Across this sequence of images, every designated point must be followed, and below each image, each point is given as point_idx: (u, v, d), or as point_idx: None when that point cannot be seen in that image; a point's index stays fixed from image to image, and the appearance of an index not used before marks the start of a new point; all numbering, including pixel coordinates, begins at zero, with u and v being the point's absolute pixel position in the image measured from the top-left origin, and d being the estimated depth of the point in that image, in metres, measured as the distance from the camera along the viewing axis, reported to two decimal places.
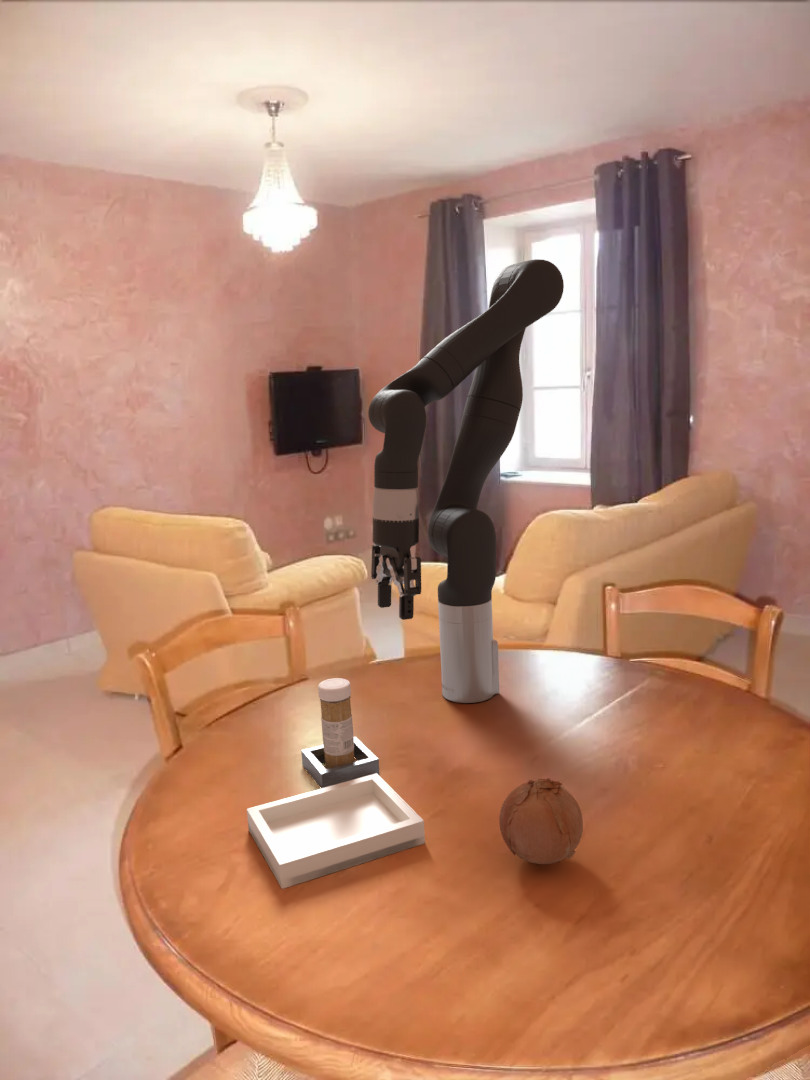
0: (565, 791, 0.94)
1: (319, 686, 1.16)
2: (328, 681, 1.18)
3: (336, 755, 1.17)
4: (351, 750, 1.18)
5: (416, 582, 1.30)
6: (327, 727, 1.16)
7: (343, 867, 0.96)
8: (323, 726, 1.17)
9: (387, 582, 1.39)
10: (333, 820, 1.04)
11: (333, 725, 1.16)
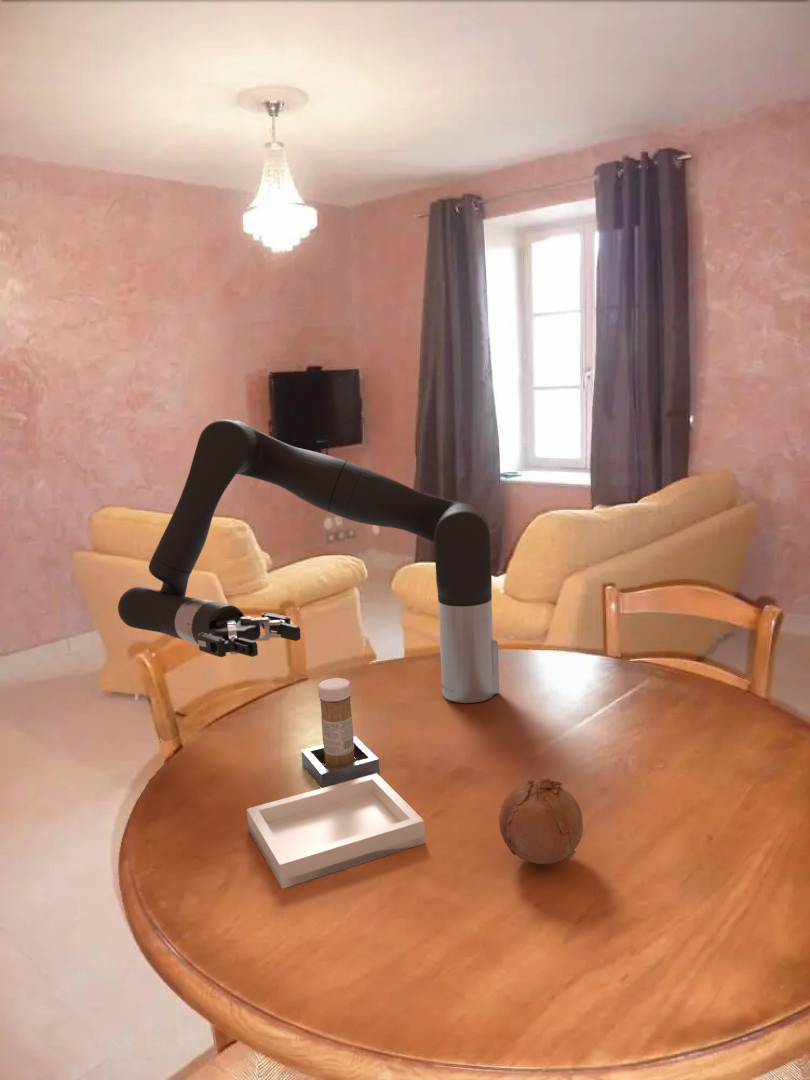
0: (565, 791, 0.94)
1: (319, 686, 1.16)
2: (328, 681, 1.18)
3: (336, 755, 1.17)
4: (351, 750, 1.18)
5: None
6: (327, 727, 1.16)
7: (343, 867, 0.96)
8: (323, 726, 1.17)
9: (278, 626, 1.29)
10: (333, 820, 1.04)
11: (333, 725, 1.16)
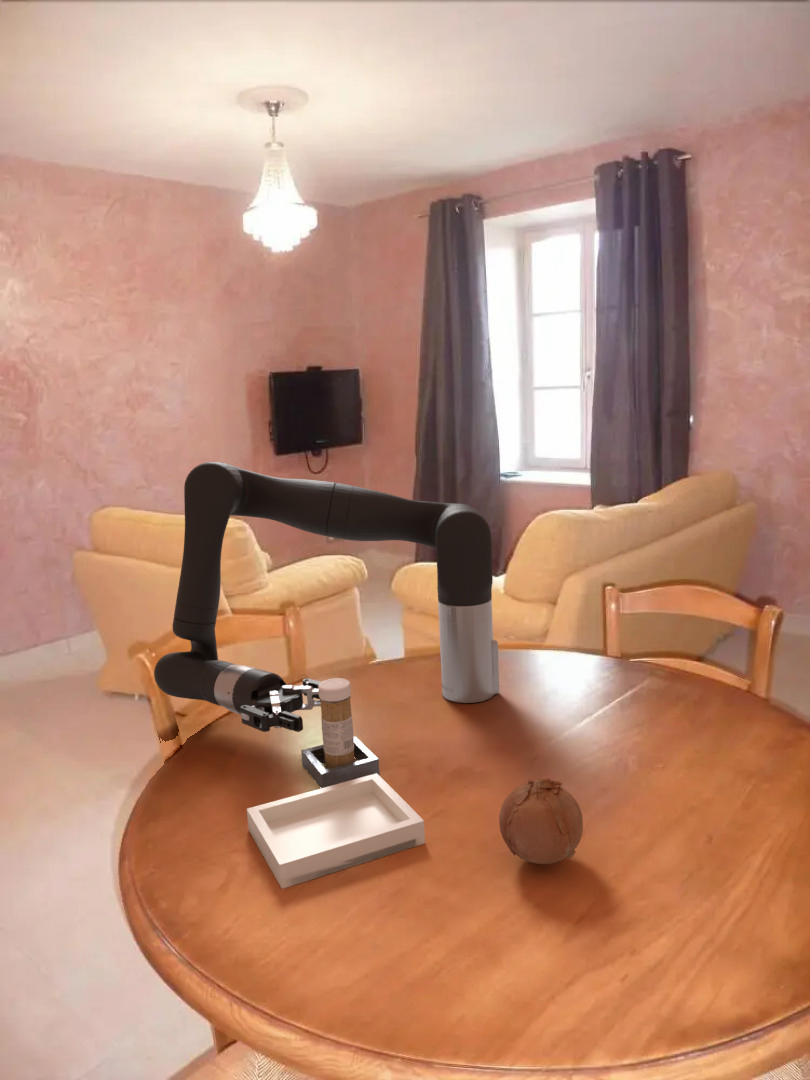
0: (565, 791, 0.94)
1: (319, 686, 1.16)
2: (328, 681, 1.18)
3: (336, 755, 1.17)
4: (351, 750, 1.18)
5: None
6: (327, 727, 1.16)
7: (343, 867, 0.96)
8: (323, 726, 1.17)
9: None
10: (333, 820, 1.04)
11: (333, 725, 1.16)
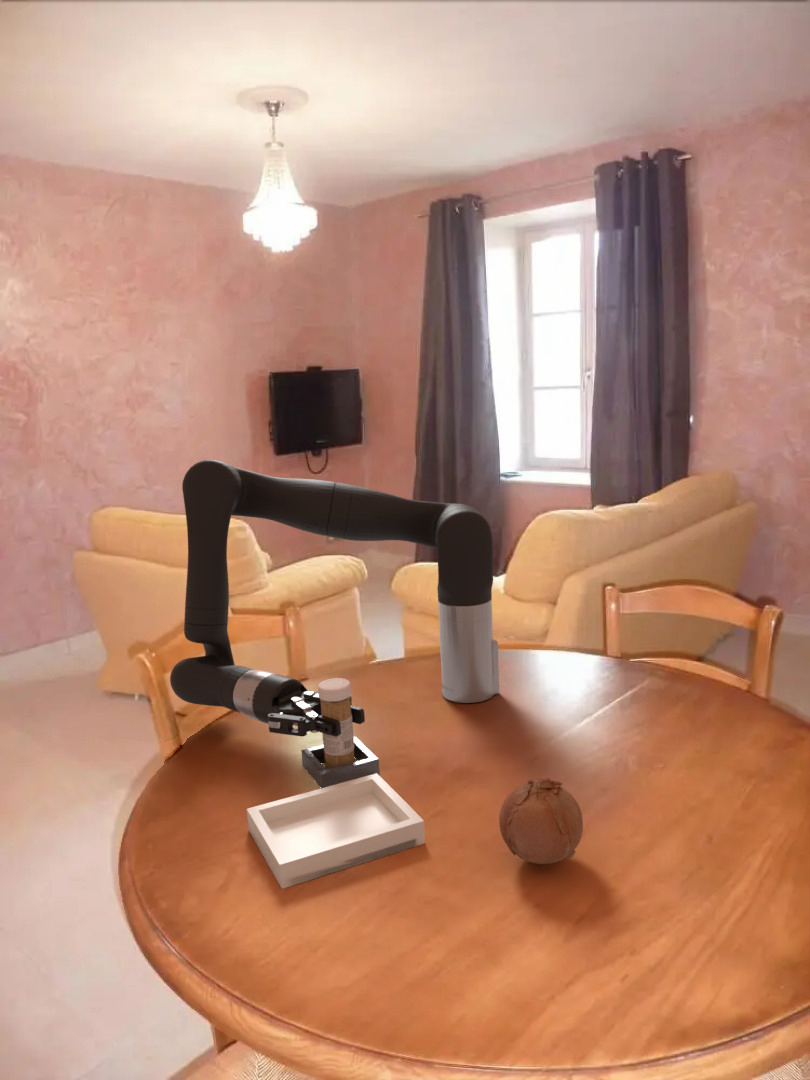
0: (565, 791, 0.94)
1: (319, 686, 1.16)
2: (328, 681, 1.18)
3: (336, 755, 1.17)
4: (351, 750, 1.18)
5: None
6: None
7: (343, 867, 0.96)
8: None
9: None
10: (333, 820, 1.04)
11: None
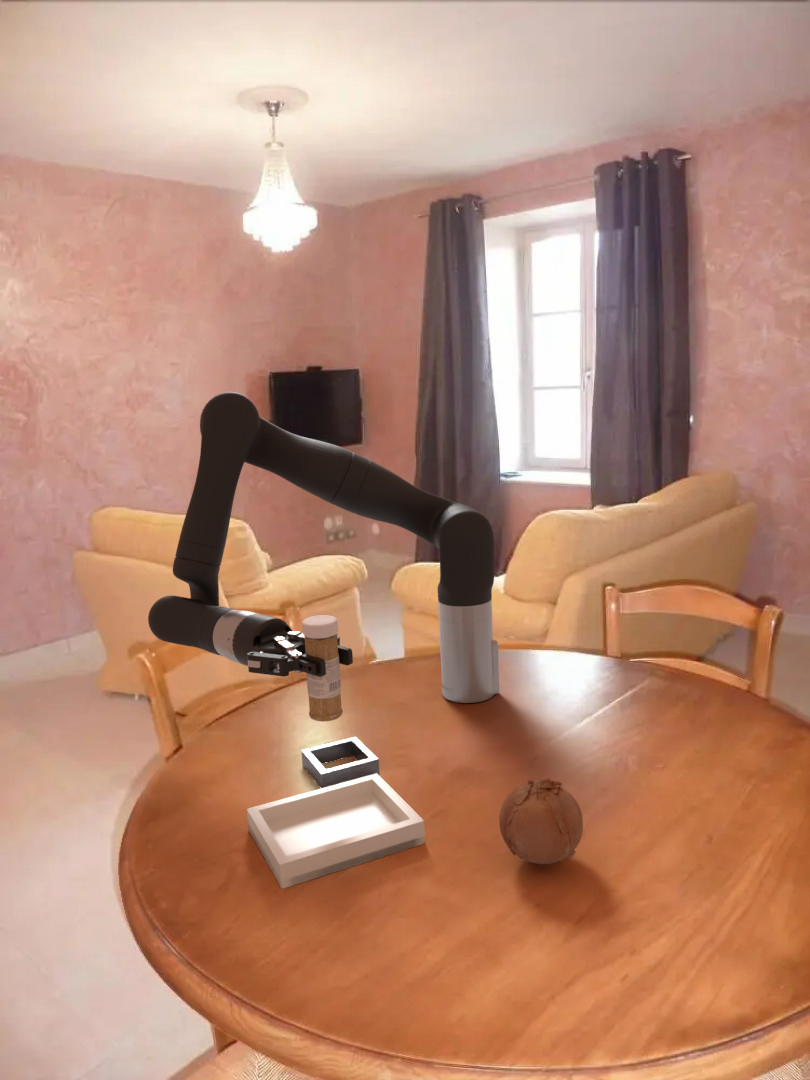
0: (565, 791, 0.94)
1: (303, 622, 1.07)
2: (313, 617, 1.08)
3: (320, 698, 1.07)
4: (337, 693, 1.08)
5: None
6: None
7: (343, 867, 0.96)
8: None
9: None
10: (333, 820, 1.04)
11: None
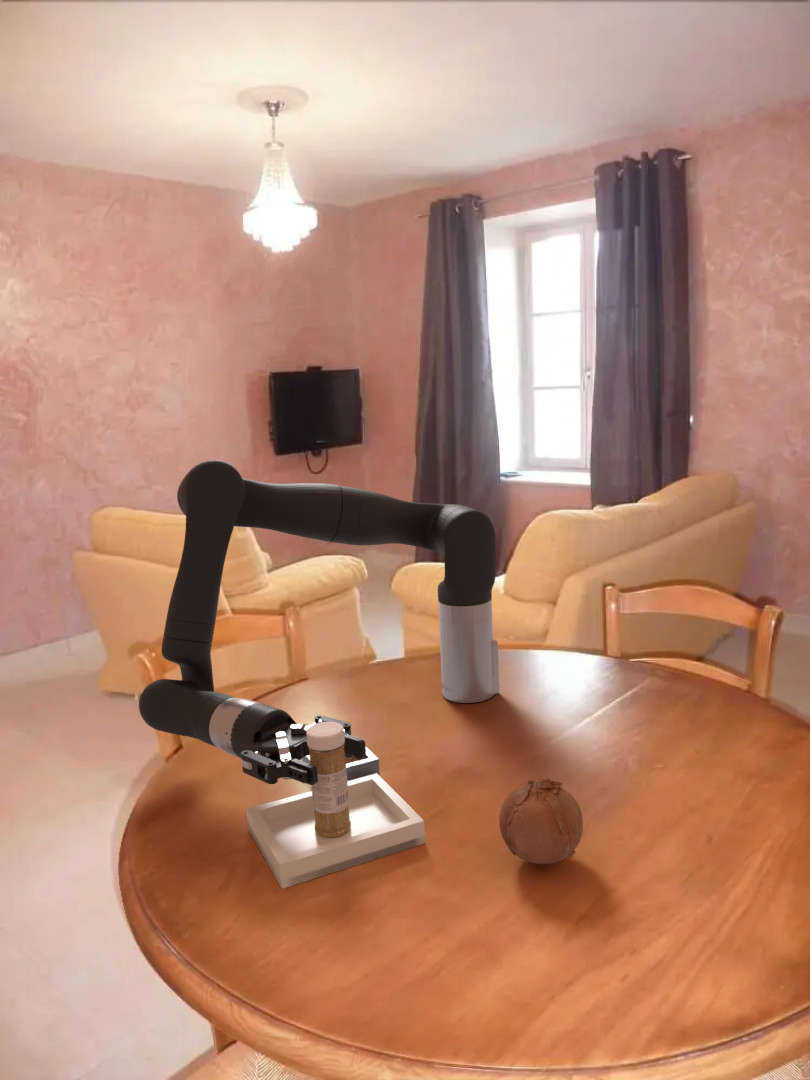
0: (565, 791, 0.94)
1: (307, 732, 0.99)
2: (318, 726, 1.00)
3: (327, 813, 1.00)
4: (345, 806, 1.01)
5: None
6: None
7: (343, 867, 0.96)
8: None
9: None
10: None
11: (324, 778, 0.99)
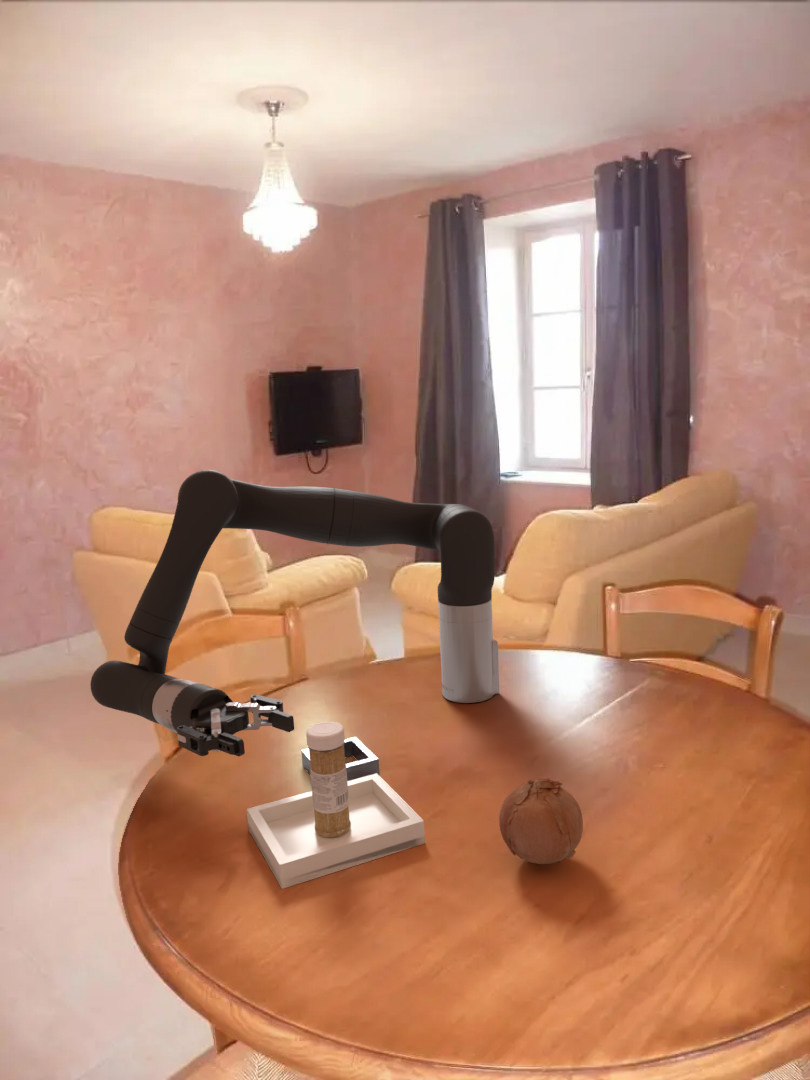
0: (565, 791, 0.94)
1: (307, 732, 0.99)
2: (318, 725, 1.00)
3: (327, 813, 1.00)
4: (345, 806, 1.01)
5: None
6: (317, 780, 0.99)
7: (343, 867, 0.96)
8: (312, 779, 1.00)
9: (269, 714, 1.13)
10: None
11: (324, 778, 0.99)
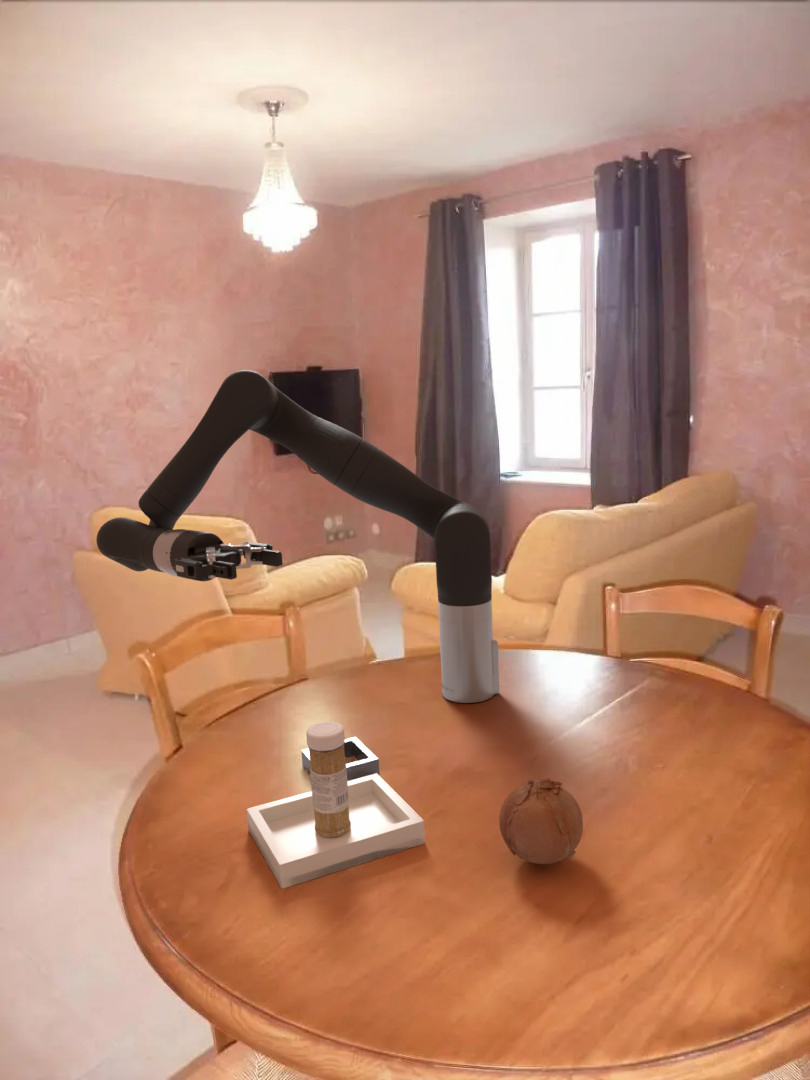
0: (565, 791, 0.94)
1: (307, 732, 0.99)
2: (318, 726, 1.00)
3: (327, 813, 1.00)
4: (345, 806, 1.01)
5: None
6: (317, 780, 0.99)
7: (343, 867, 0.96)
8: (312, 779, 1.00)
9: (260, 553, 1.24)
10: None
11: (324, 778, 0.99)
